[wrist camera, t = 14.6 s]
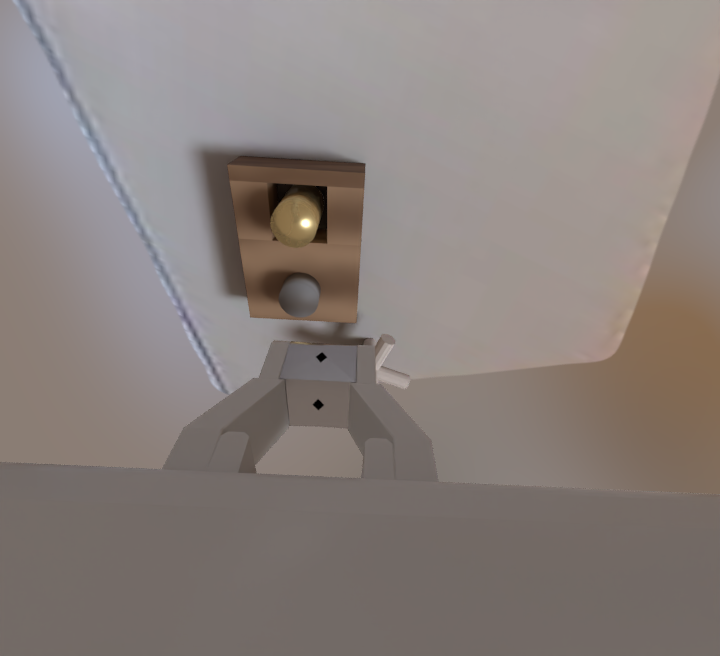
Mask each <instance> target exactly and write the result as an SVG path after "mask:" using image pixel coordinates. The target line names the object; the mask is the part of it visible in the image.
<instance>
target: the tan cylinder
mask: <svg viewBox="0 0 720 656" xmlns="http://www.w3.org/2000/svg"><path fill="white" fill-rule="evenodd" d="M323 210H324V198H323V195H322V193H321V191H320V190H319V189H318V188H317V187H316V186H313V185H296V184H294V185H293V186H292V187H290V189H289V190H288V191H287V193H286V194H285V196H284V197H283V199H282V200H281V202H280V203H279V204H278V206H277V207H276V209H275V210H274V212H273V214H272V216H271V221H270V224H271V229H272V232H273V234H274V236H275V237H276V239H277V240H278V241H280V242H281V243H282V244H284V245H286V246H288V247H292V248H300V247H304V246H306V245H308V244H309V243H310V242H311V241H312V240H313V239H314V237H315V234H316V231H317V228H318V225H319V222H320V219H321V216H322V213H323Z"/></svg>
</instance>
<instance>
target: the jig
mask: <svg viewBox="0 0 720 656" xmlns="http://www.w3.org/2000/svg"><path fill="white" fill-rule="evenodd" d="M227 168H228V174H229V181H230V187H231V194H232V200H233V207H234V213H235V220H236V226H237V233H238V240H239V246H240V253H241V259H242V266H243V272H244V279H245V285H246V292H247V298H248V305H249V311H250V317H253V318H271V319H290V320H308V321H327V322H345V323H356V320H357V303H358V285H359V268H360V251H361V234H362V216H363V199H364V182H365V164H361V163H345V162H329V161H313V160H296V159H280V158H264V157H248V156H240V157H238V158H237V159H235V160H234V161H232V162H230V163H229V164H227ZM277 183H280V184H296V185H313V186H327V229H317V231H316V234H315V237H314V239H313V240H312V241H311V242H310V243H309V244H308V245H306V246H304V247H300V248H292V247H288V246H286V245H284V244H282V243H281V242H280V241H278V240H277V239H276V237H275V236H274V234H273V232H272V229H271V224H270V221H271V216H272V214H273V212H274V210H275V209H276V207H277V206H278V204H279V203H278V190H277Z"/></svg>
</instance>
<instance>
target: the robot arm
mask: <svg viewBox="0 0 720 656" xmlns="http://www.w3.org/2000/svg"><path fill="white" fill-rule="evenodd" d="M289 426H322V427H334V428H335V427H336V428H347V429H348V431H349V433H350V434H351V436H352V438H353V439H354V441H355V443H356V445H357V446H358V448H359V450H360V451H361V453H362V455H363V466H362V475H361V478H343V477H321V476H298V475H277V474H257V473H256V468H255V465H256V464H257V463H258V462H259V461H260V459H261V458H262V457H263V456H264V455H265V454H266V453H267V452H268V451H269V449H270V448H271V447H272V446H273V445H274V444H275V443H276V442H277V440H278V439H279V438H280V437H281V436H282V435H283V434H284V433H285V432H286V430H287V429H288V428H289ZM0 656H720V495H719V494H696V493H695V494H694V493H673V492H652V491H629V490H628V491H627V490H608V489H607V490H606V489H586V488H585V489H584V488H563V487H541V486H519V485H498V484H476V483H475V484H473V483H453V482H439V481H438V476H437V470H436V464H435V459H434V453H433V447H432V441H431V439H430V438H429V437H428V436H427V435H426V434H425V432H424V431H423V430H422V429H421V428H420V427H419V426H418V425H417V424H416V423H415V421H414V420H413V419H412V418H411V417H410V416H409V415H408V414H407V412H406V411H405V410H404V409H403V408H402V407H401V406H400V405H399V404H398V402H397V401H396V400H395V399H394V398H393V397H392V396H391V395H390V394H389V393H388V392H387V390H386V389H385V388H384V387H383V386H382V385H381V384H376V362H375V347H374V345H358V346H357V345H336V344H320V343H306V342H293V341H291V342H290V341H275V340H274V341H273V342H272V343H271V345H270V348H269V351H268V354H267V356H266V359H265V362H264V365H263V367H262V370H261V373H260V376H259V378H253V379H251V380H250V381H249V382H247V383H246V384H244V385H243V386H242V387H240V388H239V389H237V390H236V391H234V392H233V393H232V394H230V395H229V396H228V397H226V398H225V399H223V400H222V401H220V402H219V403H218V404H216V405H215V406H213V407H212V408H211V409H209V410H208V411H206V412H205V413H204V414H202V415H201V416H199V417H198V418H197V419H195V420H194V421H192V422H191V423H190V424H188V425H187V426H185V427H184V428H183V430H182V432H181V434H180V436H179V437H178V440H177V441H176V443H175V445H174V447H173V449H172V451H171V453H170V455H169V457H168V458H167V460H166V462H165V464H164V466H163V468H162V469H145V468H123V467H122V468H121V467H100V466H78V465H55V464H33V463H10V462H0Z"/></svg>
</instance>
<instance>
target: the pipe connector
mask: <svg viewBox="0 0 720 656" xmlns="http://www.w3.org/2000/svg"><path fill="white" fill-rule="evenodd" d="M394 344H395V340H394V338H393V337H392V336H390V335H388V334H382V335H381V337H380V339H379V340H378V342H376V340H374V339H372V338H368V339H366V340H364V342H363V345H374V347H375V362H376V384H378V381H381V382H384V383H387V384H390V385H393V386H397V387H400V388H403V389H406V388H407V387H408V385H409V382H410V376H409V375H406V374H403V373H401V372H398V371H395V370H392V369H389V368H386V367H383V366H381V365H382V363H383V362H384V360H385V359H386V357H387V356H388V354H389V352H390V351H391V349H392V348H393V346H394Z"/></svg>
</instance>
